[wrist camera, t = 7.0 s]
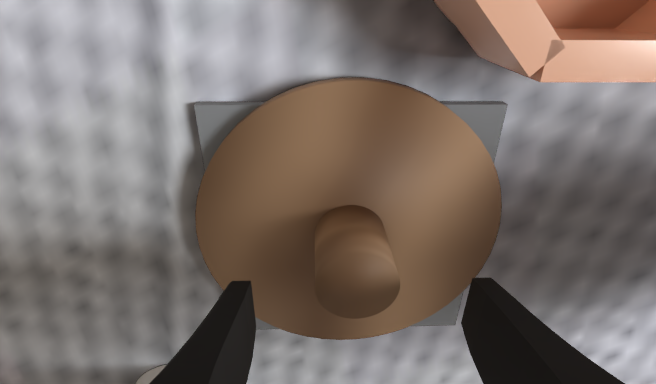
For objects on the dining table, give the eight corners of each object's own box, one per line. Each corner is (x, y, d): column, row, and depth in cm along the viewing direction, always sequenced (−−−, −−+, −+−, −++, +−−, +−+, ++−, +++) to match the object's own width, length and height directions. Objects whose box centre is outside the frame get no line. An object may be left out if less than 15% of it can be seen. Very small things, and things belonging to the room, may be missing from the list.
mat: (502, 101, 14) (507, 104, 13) (452, 318, 19) (455, 325, 18) (197, 101, 13) (193, 104, 13) (232, 323, 18) (230, 330, 18)
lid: (533, 86, 13) (607, 118, 10) (457, 329, 19) (488, 400, 15) (182, 67, 12) (135, 95, 9) (213, 326, 18) (191, 400, 15)
